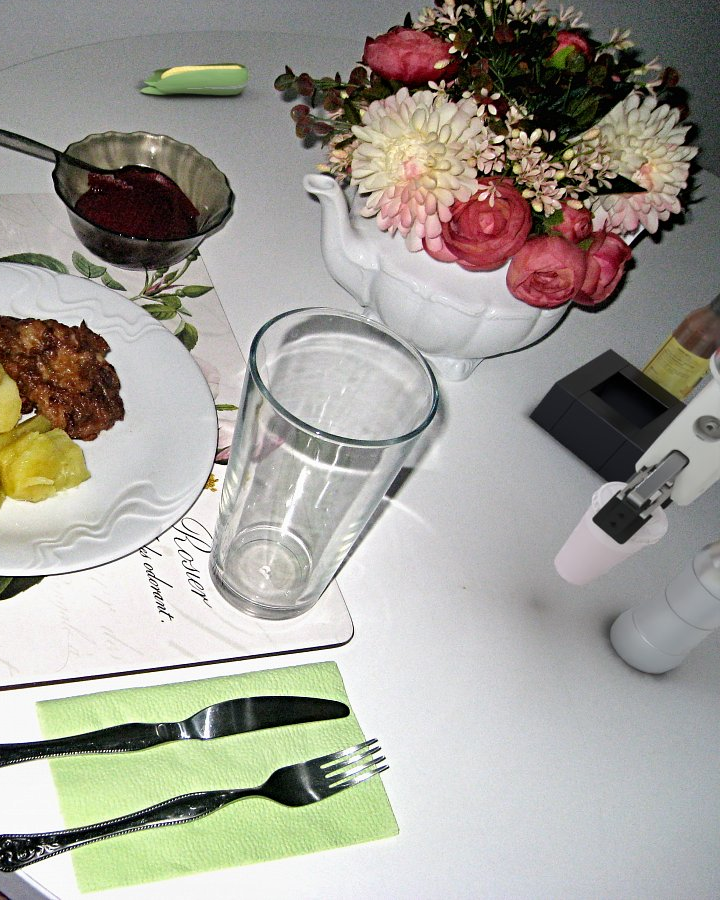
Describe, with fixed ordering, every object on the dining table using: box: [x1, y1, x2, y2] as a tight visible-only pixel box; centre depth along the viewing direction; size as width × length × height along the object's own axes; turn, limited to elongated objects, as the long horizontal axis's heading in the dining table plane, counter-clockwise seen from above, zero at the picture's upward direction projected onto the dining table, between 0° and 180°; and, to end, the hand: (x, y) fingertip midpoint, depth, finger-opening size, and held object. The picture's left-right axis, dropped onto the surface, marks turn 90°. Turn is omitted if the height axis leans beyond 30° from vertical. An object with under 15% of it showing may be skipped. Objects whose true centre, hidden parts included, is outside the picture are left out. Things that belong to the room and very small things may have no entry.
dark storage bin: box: [528, 348, 688, 484], centre depth 108 cm, size 13×13×7 cm
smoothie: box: [553, 479, 674, 587], centre depth 80 cm, size 6×6×14 cm
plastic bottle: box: [610, 539, 720, 675], centre depth 83 cm, size 6×7×20 cm
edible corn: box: [139, 62, 252, 96], centre depth 148 cm, size 5×20×5 cm, turn 112°
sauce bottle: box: [639, 292, 720, 403], centre depth 110 cm, size 6×6×20 cm
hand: (629, 513), depth 79 cm, fingers closed on smoothie, 6 cm apart
